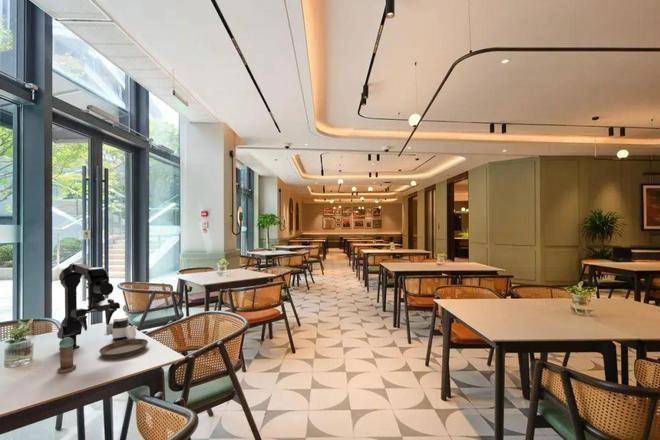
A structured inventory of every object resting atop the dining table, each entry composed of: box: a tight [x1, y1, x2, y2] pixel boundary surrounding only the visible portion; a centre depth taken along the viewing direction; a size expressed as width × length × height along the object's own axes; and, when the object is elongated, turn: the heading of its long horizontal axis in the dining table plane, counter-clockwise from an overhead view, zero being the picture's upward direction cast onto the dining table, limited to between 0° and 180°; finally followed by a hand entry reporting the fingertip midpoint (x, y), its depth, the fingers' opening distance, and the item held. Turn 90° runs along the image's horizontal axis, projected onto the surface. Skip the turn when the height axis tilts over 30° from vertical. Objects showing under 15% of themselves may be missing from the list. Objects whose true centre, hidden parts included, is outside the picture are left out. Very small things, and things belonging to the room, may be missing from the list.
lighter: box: [105, 322, 113, 334], centre depth 200 cm, size 7×2×8 cm, turn 130°
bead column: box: [56, 337, 77, 374], centre depth 146 cm, size 6×6×14 cm
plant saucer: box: [98, 338, 149, 359], centre depth 167 cm, size 21×21×3 cm
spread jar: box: [112, 315, 137, 341], centre depth 188 cm, size 12×11×12 cm
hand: (97, 327), depth 159 cm, fingers open, 9 cm apart
